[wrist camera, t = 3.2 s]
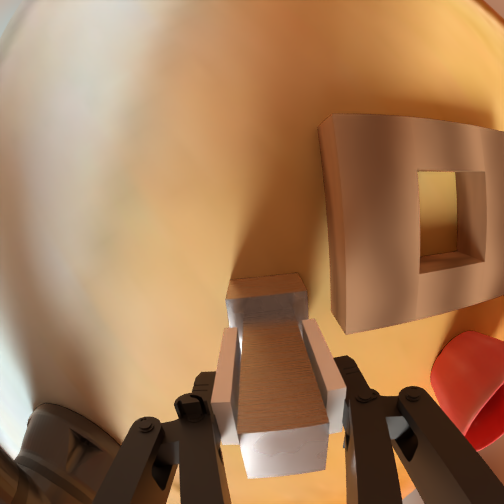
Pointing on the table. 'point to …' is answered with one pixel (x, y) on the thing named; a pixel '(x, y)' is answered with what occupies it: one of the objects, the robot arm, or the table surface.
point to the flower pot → (472, 386)
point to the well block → (408, 217)
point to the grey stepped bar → (276, 379)
